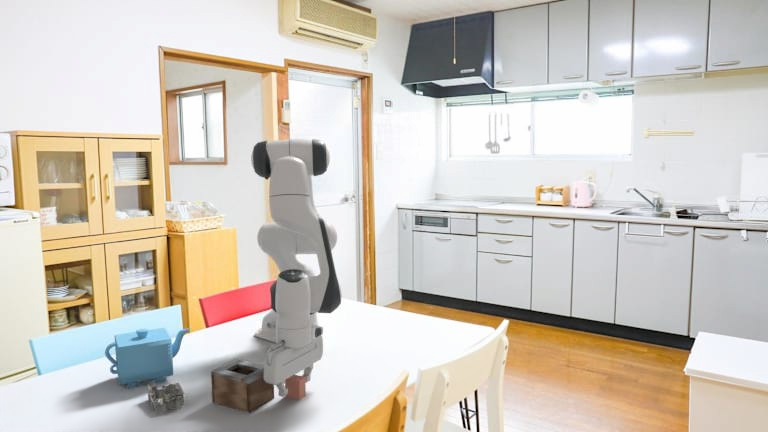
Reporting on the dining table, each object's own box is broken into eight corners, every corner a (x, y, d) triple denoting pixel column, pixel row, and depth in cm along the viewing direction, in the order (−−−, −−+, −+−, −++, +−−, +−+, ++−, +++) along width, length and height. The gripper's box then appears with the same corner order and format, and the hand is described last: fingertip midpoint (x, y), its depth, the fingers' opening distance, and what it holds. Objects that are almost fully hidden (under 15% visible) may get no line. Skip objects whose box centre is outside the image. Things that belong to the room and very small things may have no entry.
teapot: (108, 393, 142) (105, 341, 140) (105, 378, 151) (102, 329, 149) (197, 376, 152) (195, 328, 151) (189, 363, 162) (187, 317, 160)
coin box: (212, 402, 137) (211, 371, 136) (237, 388, 145) (236, 359, 144) (249, 412, 131) (248, 380, 130) (274, 397, 139) (273, 367, 138)
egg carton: (146, 399, 139) (145, 383, 139) (178, 392, 143) (177, 377, 143) (153, 416, 130) (152, 399, 130) (186, 408, 134) (186, 392, 133)
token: (285, 396, 140) (284, 377, 140) (291, 392, 142) (290, 373, 142) (299, 399, 138) (299, 380, 137) (305, 395, 140) (305, 377, 140)
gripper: (277, 350, 128) (278, 407, 129) (326, 326, 146) (327, 376, 147) (256, 346, 131) (257, 401, 132) (307, 322, 149) (308, 372, 150)
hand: (295, 388), depth 140 cm, fingers open, 8 cm apart
